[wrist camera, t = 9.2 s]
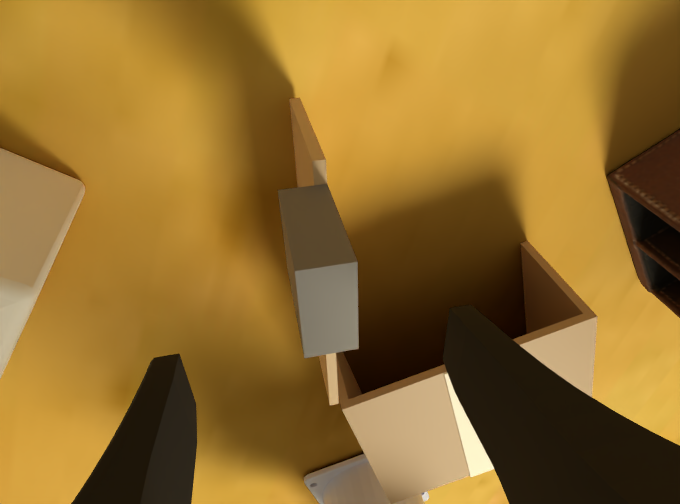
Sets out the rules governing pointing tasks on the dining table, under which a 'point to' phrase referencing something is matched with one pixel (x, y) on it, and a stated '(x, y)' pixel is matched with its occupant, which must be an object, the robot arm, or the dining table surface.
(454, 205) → the dining table surface
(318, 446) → the dining table surface
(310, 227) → the side flap
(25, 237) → the medicine bottle
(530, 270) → the carton
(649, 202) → the letter holder
